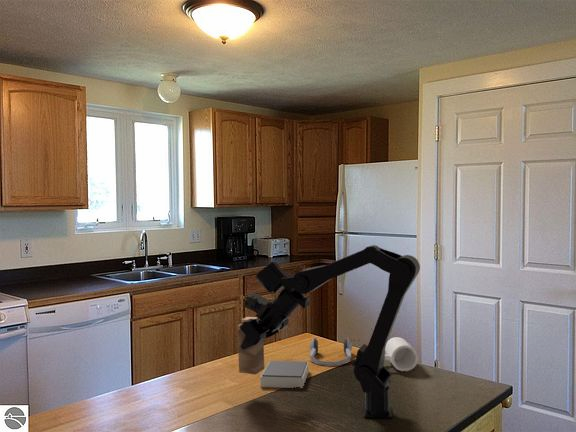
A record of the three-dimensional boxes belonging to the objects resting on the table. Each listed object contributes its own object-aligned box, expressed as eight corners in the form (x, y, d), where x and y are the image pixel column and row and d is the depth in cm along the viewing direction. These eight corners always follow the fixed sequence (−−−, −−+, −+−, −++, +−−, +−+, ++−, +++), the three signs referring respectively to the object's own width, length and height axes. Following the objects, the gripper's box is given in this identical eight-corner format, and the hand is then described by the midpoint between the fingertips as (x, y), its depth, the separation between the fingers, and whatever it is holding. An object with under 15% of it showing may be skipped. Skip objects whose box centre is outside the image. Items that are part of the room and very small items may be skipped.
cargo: (258, 323, 135) (258, 317, 135) (253, 325, 132) (252, 320, 132) (247, 322, 137) (247, 316, 137) (241, 325, 134) (241, 319, 134)
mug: (409, 361, 161) (408, 336, 161) (418, 371, 151) (417, 345, 151) (372, 362, 161) (371, 337, 161) (378, 372, 151) (378, 346, 151)
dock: (302, 388, 139) (302, 376, 139) (260, 386, 141) (260, 375, 141) (308, 371, 153) (308, 361, 153) (269, 370, 155) (269, 360, 155)
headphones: (310, 345, 179) (307, 372, 159) (310, 330, 178) (306, 355, 158) (359, 345, 177) (362, 373, 158) (359, 330, 176) (362, 356, 157)
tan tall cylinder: (264, 368, 136) (262, 322, 136) (255, 374, 131) (254, 326, 131) (247, 366, 138) (246, 321, 138) (239, 372, 133) (237, 325, 133)
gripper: (277, 279, 141) (243, 316, 146) (245, 289, 124) (208, 331, 129) (304, 308, 138) (269, 345, 143) (275, 323, 121) (236, 364, 126)
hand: (246, 345), depth 135 cm, fingers closed on tan tall cylinder, 5 cm apart
